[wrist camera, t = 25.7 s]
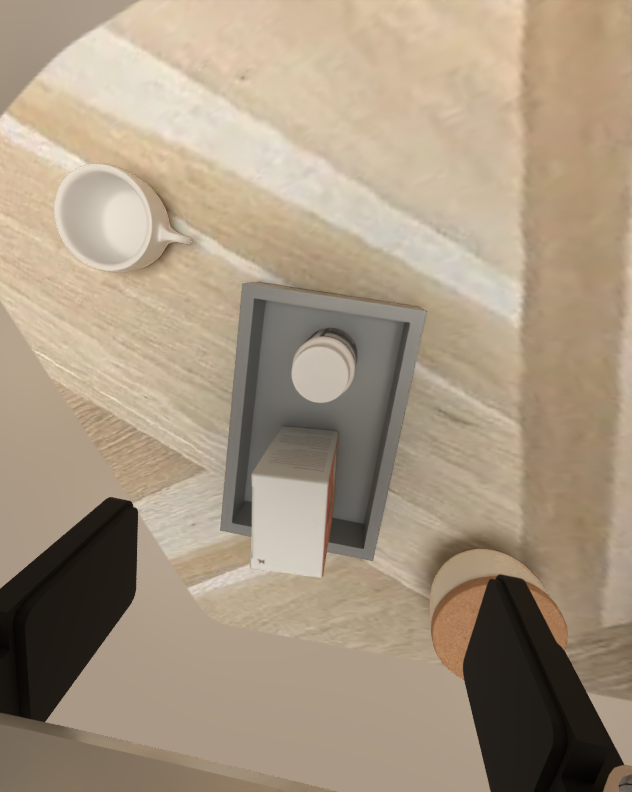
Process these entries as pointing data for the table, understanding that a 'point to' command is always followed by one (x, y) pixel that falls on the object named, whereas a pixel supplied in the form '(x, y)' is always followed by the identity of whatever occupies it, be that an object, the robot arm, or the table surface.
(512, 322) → the table surface
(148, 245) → the teacup
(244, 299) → the tote
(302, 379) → the pill bottle
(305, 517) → the small box
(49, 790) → the robot arm
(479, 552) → the lidded jar
